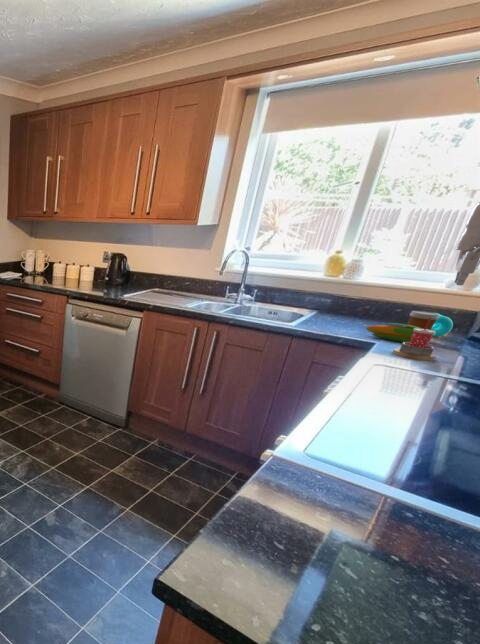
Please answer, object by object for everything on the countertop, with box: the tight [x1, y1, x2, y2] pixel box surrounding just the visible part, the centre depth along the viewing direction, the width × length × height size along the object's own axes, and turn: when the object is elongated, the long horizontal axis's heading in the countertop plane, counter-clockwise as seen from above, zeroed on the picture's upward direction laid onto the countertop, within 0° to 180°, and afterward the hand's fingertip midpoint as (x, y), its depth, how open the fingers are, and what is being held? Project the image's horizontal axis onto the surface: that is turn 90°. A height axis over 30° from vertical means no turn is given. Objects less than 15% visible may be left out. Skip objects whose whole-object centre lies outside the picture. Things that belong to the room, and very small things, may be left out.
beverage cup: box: [409, 317, 436, 348], centre depth 163 cm, size 6×6×14 cm
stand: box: [392, 342, 437, 362], centre depth 166 cm, size 12×12×4 cm
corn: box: [365, 322, 421, 343], centre depth 188 cm, size 7×8×20 cm
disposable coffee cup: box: [406, 310, 440, 330], centre depth 191 cm, size 10×10×12 cm
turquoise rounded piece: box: [431, 312, 454, 338], centre depth 199 cm, size 10×10×10 cm
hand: (458, 284), depth 160 cm, fingers open, 8 cm apart
